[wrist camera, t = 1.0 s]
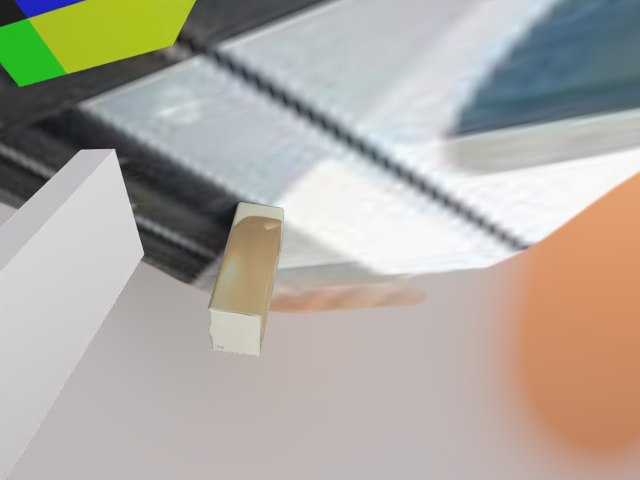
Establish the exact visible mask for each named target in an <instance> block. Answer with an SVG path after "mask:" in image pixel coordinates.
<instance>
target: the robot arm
mask: <svg viewBox="0 0 640 480" xmlns="http://www.w3.org/2000/svg"><path fill="white" fill-rule="evenodd" d="M143 255H144V252H143V248H142V245H141V241H140V238H139V234H138V231H137V227H136V223H135V220H134V216H133V213H132V209H131V206H130V202H129V199H128V195H127V192H126V188H125V184H124V181H123V177H122V174H121V170H120V167H119V163H118V160H117V156H116V153H115V149H98V150H80V151H79V152H78V153H77V154H76V155H75V156H74V157H73V158H72V159H71V160H70V161H69V162H68V163H67V164H66V165H65V166H64V167H63V168H62V169H61V170H60V171H59V172H57V173H56V174H55V175H54V176H53V177H52V178H51V179H50V180H49V181H48V182H47V183H46V184H45V185H44V186H43V187H42V188H41V189H40V190H39V191H38V192H37V193H36V194H34V195H33V196H32V197H31V198H30V199H29V200H28V201H27V202H26V203H25V204H24V205H23V206H22V207H21V208H20V209H19V210H18V211H17V212H16V213H15V214H14V215H13V216H11V218H9V219H8V220H7V221H6V222H5V223H4V224H3V225H2V226H1V227H0V480H7V479H8V477H9V476H10V474H11V472H12V471H13V469H14V467H15V466H16V464H17V462H18V461H19V459H20V458H21V456H22V454H23V452H24V451H25V449H26V448H27V446H28V444H29V443H30V441H31V439H32V438H33V436H34V434H35V433H36V431H37V430H38V428H39V426H40V425H41V423H42V421H43V420H44V418H45V416H46V415H47V413H48V411H49V410H50V408H51V406H52V405H53V403H54V402H55V400H56V398H57V397H58V395H59V393H60V392H61V390H62V388H63V387H64V385H65V383H66V382H67V380H68V378H69V377H70V375H71V374H72V372H73V370H74V369H75V367H76V365H77V364H78V362H79V360H80V359H81V357H82V355H83V354H84V352H85V350H86V349H87V347H88V346H89V344H90V342H91V340H92V339H93V337H94V336H95V334H96V332H97V331H98V329H99V327H100V325H101V324H102V322H103V321H104V319H105V317H106V316H107V314H108V312H109V311H110V309H111V308H112V306H113V304H114V303H115V301H116V299H117V298H118V296H119V294H120V293H121V291H122V289H123V288H124V286H125V285H126V283H127V281H128V280H129V278H130V276H131V275H132V273H133V271H134V270H135V268H136V266H137V265H138V263H139V262H140V260H141V258H142V257H143Z"/></svg>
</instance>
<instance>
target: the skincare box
mask: <svg viewBox="0 0 640 480" xmlns="http://www.w3.org/2000/svg"><path fill="white" fill-rule="evenodd" d="M283 221H284V209H283V208H277V207H270V206H264V205H258V204H251V203H244V202H239V203H238V206H237V210H236V213H235V217H234V220H233V224H232V227H231V231H230V234H229V237H228V241H227V244H226V248H225V251H224V255H223V258H222V262H221V265H220V269H219V272H218V276H217V279H216V283H215V286H214V290H213V293H212V297H211V300H210V304H209V307H208V319H209V333H210V343H211V350H214V351H222V352H230V353H236V354H243V355H252V356H260V353H261V347H262V342H263V337H264V332H265V326H266V321H267V316H268V311H269V306H270V301H271V296H272V291H273V286H274V281H275V276H276V272H277V267H278V262H279V257H280V252H281V245H282V237H283Z"/></svg>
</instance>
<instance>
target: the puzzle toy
mask: <svg viewBox="0 0 640 480" xmlns="http://www.w3.org/2000/svg"><path fill="white" fill-rule="evenodd" d="M195 1H196V0H0V63H1V64H2V65H3V67H4V68H5V69H6V70H7V72H8V73H9V74H10V75H11V77H12V78H13V79H14V80H15V82H16V83H17V84H18V85H19V87H21V86H25V85H29V84H32V83H36V82H40V81H43V80H47V79H51V78H54V77H58V76H62V75H65V74H69V73H73V72H76V71H80V70H84V69H87V68H91V67H95V66H99V65H102V64H106V63H110V62H113V61H117V60H121V59H124V58H128V57H132V56H135V55H139V54H143V53H146V52H150V51H154V50H157V49H161V48H165V47H169V46H172V45H173V44H174V42H175V40H176V38H177V36H178V34H179V32H180V30H181V28H182V26H183V24H184V22H185V20H186V18H187V16H188V14H189V12H190V10H191V8H192V7H193V5H194V3H195Z"/></svg>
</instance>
